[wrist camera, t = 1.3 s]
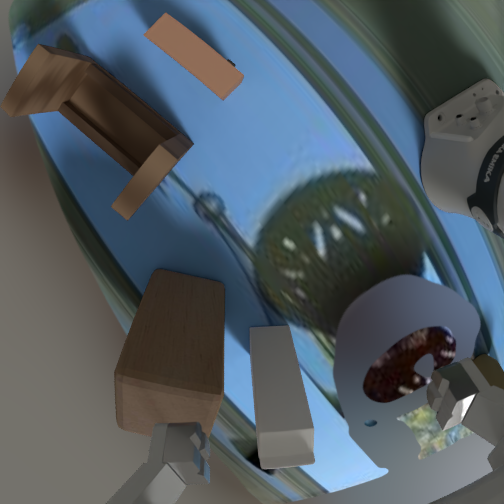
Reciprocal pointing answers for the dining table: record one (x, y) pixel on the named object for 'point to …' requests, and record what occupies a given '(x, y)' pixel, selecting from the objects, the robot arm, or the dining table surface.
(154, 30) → the salmon tan rectangular block
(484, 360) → the squeeze bottle
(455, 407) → the robot arm
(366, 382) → the dining table surface
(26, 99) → the brown u-shaped piece
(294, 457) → the milk
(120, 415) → the block
